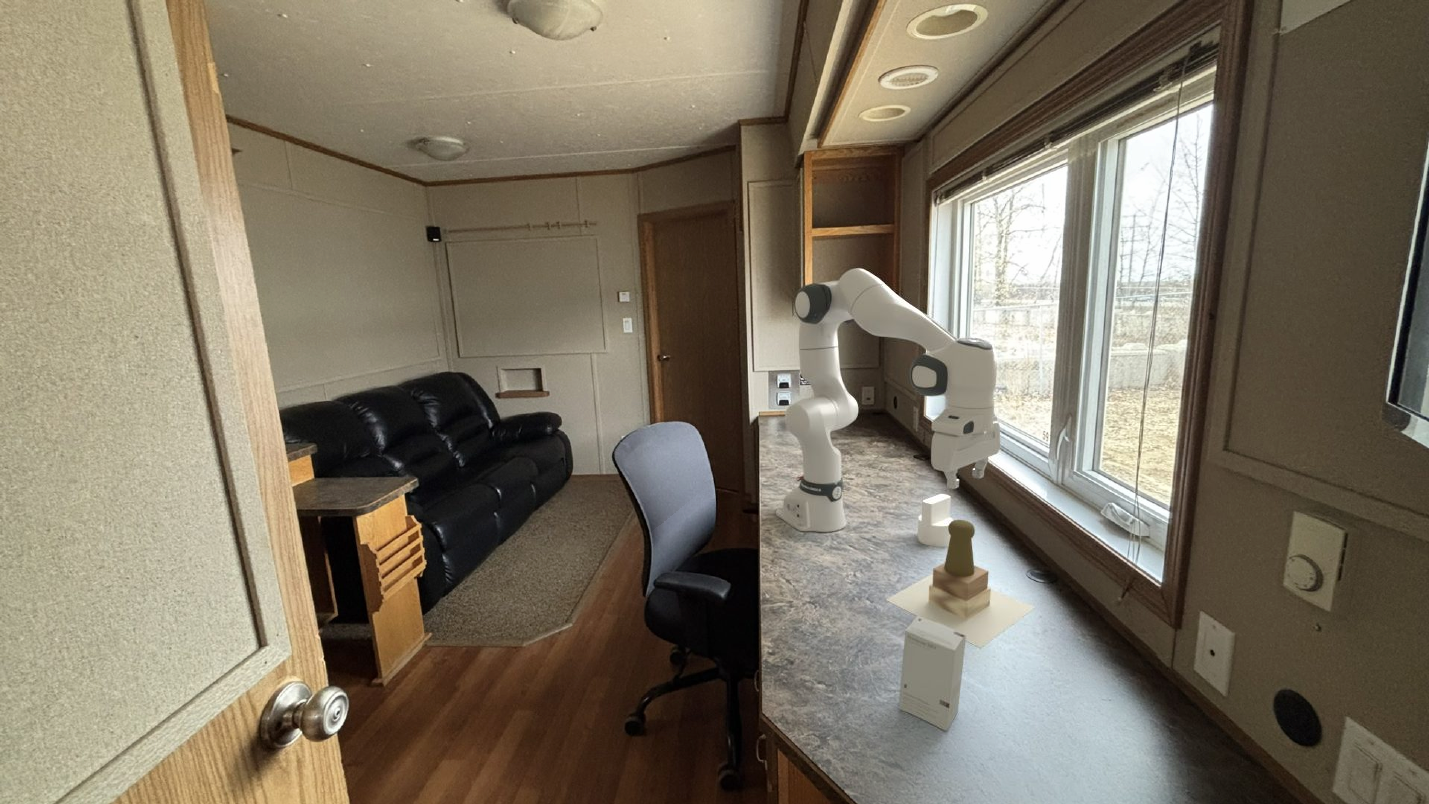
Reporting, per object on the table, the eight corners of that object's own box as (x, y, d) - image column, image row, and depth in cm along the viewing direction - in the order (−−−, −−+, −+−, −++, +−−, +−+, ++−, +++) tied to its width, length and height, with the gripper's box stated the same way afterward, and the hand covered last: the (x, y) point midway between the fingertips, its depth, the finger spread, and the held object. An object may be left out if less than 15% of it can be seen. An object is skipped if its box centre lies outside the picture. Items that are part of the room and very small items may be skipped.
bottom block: (928, 601, 123) (929, 585, 122) (951, 588, 128) (952, 572, 127) (967, 620, 116) (968, 603, 115) (989, 605, 121) (990, 588, 120)
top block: (932, 585, 122) (933, 568, 121) (953, 573, 126) (953, 557, 126) (967, 601, 115) (968, 583, 115) (987, 588, 120) (988, 571, 119)
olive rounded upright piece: (978, 577, 117) (981, 528, 115) (947, 575, 118) (950, 527, 116) (970, 563, 123) (973, 516, 121) (941, 562, 124) (943, 515, 122)
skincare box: (898, 709, 93) (900, 630, 90) (911, 689, 97) (914, 613, 94) (950, 734, 88) (954, 650, 85) (962, 711, 92) (966, 631, 89)
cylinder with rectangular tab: (930, 530, 160) (932, 490, 157) (959, 540, 152) (961, 499, 150) (910, 538, 155) (912, 497, 152) (939, 550, 147) (941, 507, 145)
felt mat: (885, 602, 124) (885, 599, 124) (941, 570, 137) (942, 568, 137) (980, 651, 107) (980, 648, 107) (1035, 610, 119) (1035, 607, 119)
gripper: (981, 408, 122) (977, 468, 124) (926, 423, 110) (923, 489, 113) (1010, 412, 117) (1006, 475, 119) (956, 429, 105) (952, 498, 108)
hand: (965, 482), depth 116 cm, fingers open, 8 cm apart
